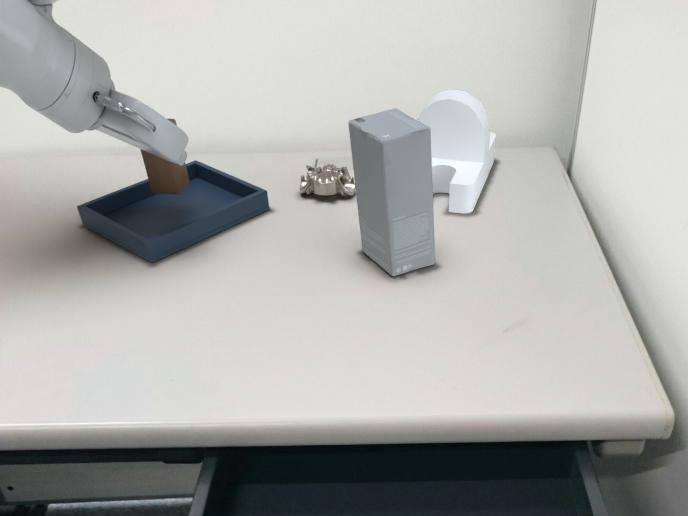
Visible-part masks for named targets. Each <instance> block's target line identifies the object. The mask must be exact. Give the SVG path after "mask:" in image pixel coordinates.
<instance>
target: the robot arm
mask: <svg viewBox="0 0 688 516" xmlns="http://www.w3.org/2000/svg"><path fill="white" fill-rule="evenodd" d="M59 1H60V0H0V88H3V89H7V90H9V91H11V92H12V93H14V94H15V95H16V96H17V97H19V99H20V100H21V101H22V102H23V103H24V104H25V105H26V106H28V107H29V108H31V109H32V110H34V111H35V112H37V113H38V114H40V115H42V116H43V117H45V118H47V120H49V121H51V122H52V123H54V124H56V125H57V126H59V127H60V128H62V129H63V130H65V131H66V132H69V133H71V134H81V133H83V132H85V131H90V132H91V131H95V130H96V131H98V132H100V133H103V134H105V135H107V136H110V137H112V138H114V139H116V140H118V141H121V142H123V143H126V144H128V145H131V146H133V147H135V148H137V149H142V150H144V151H147V152H149V153H151V154H153V155H156V156H158V157H160V158H163V159H165V160H167V161H170V162H172V163H175V164H178V165H180V166H182V165H184V163H186V161H187V158H188V153H187V151H186V148H187V146H188V143H189V141H190V140H189V138H190V137H189V136H188V134H187V133H186V132H185V130H183V129H182V128H181V127H179V126H178V125H177V126H176V125H175V124H173V123H172V122H171V121H169V120H168V119H169V118H168V119H166V118H167V117H165V116H163V115H162V114H160V113H159V112H158V111H157V110H155V109H154V108H153V107H150V106H149V105H147V104H146V103H144V102H142V101H140V100H138V99H137V98H136V97H134V96H130V95H128V94H126V93H122V92H120V91H117V90H116V85H115V82H114V81H113V80H112V77H111V76H112V75H111V71H110V67H109V65H108V62H107V61H106V60H105V58H103V57H102V56H100V54H98V53H97V52H95V51H94V50H93V49H92V48H90V47H89V46H88V45H86V44H85V43H84V42H83V41H81V40H80V39H78V38H77V37H76V36H74V34H73V33H71V32H70V31H68V30H67V29H65V27H62V26H61V25H60V24H58V23H57V22H56V21H55V19H54V17H53V8H54V4H55V3H57V2H59Z"/></svg>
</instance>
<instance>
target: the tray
mask: <svg viewBox="0 0 688 516" xmlns="http://www.w3.org/2000/svg"><path fill="white" fill-rule="evenodd" d="M186 168H187V172H188V176H189V184H188V185H187V187H186V188H185V189H184V190H183V191H182V192H181V193H180V194H179V195H174V194H160V193H153V192H152V191H151V187H150V183H149V180H148V178H146V179H143V180H141V181H138V182H136V183H132V184H131V185H128V186H125V187H123V188H119V189H118V190H115V191H112V192H109V193H107V194H105V195H102V196H99V197H97V198H93V199H92V200H89V201H87V202H83V203H82V204H79V205H76V208H77V211H78V215H79V217H80V220H81V224H82V226H84V227H86V228H87V229H89V230H91V231H93V232H94V233H96V234H98V235H100V236H102V237H104V238H106V239H107V240H109V241H110V242H113V243H114V244H116V245H119V246H120V247H122V248H124V249H125V250H127V251H129V252H131V253H133V254H135V255H136V256H138V257H140V258H142V259H144V260H146V261H147V262H149V263H151V264H154V263H155V262H158V261H160V260H163V259H164V258H167V257H169V256H171V255H173V254H176V253H177V252H180V251H182V250H184V249H186V248H188V247H190V246H193V245H195V244H197V243H200V242H202V241H204V240H206V239H208V238H211V237H213V236H215V235H217V234H219V233H221V232H224V231H226V230H228V229H230V228H232V227H235V226H237V225H239V224H241V223H244V222H245V221H248V220H250V219H252V218H255V217H256V216H259V215H261V214H264V213H265V212H268V211H270V209H271V208H270V202H269V196H268V195H269V194H268V190H266V189H264V188H262V187H259V186H258V185H254V184H252V183H250V182H248V181H246V180H243V179H242V178H238V177H237V176H235V175H231V174H229V173H227V172H224V171H222V170H220V169H218V168H215V167H212V166H210V165H208V164H206V163H204V162H201V161H198V160H196V159H195V160H193V161H190V162H188V163H186Z"/></svg>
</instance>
